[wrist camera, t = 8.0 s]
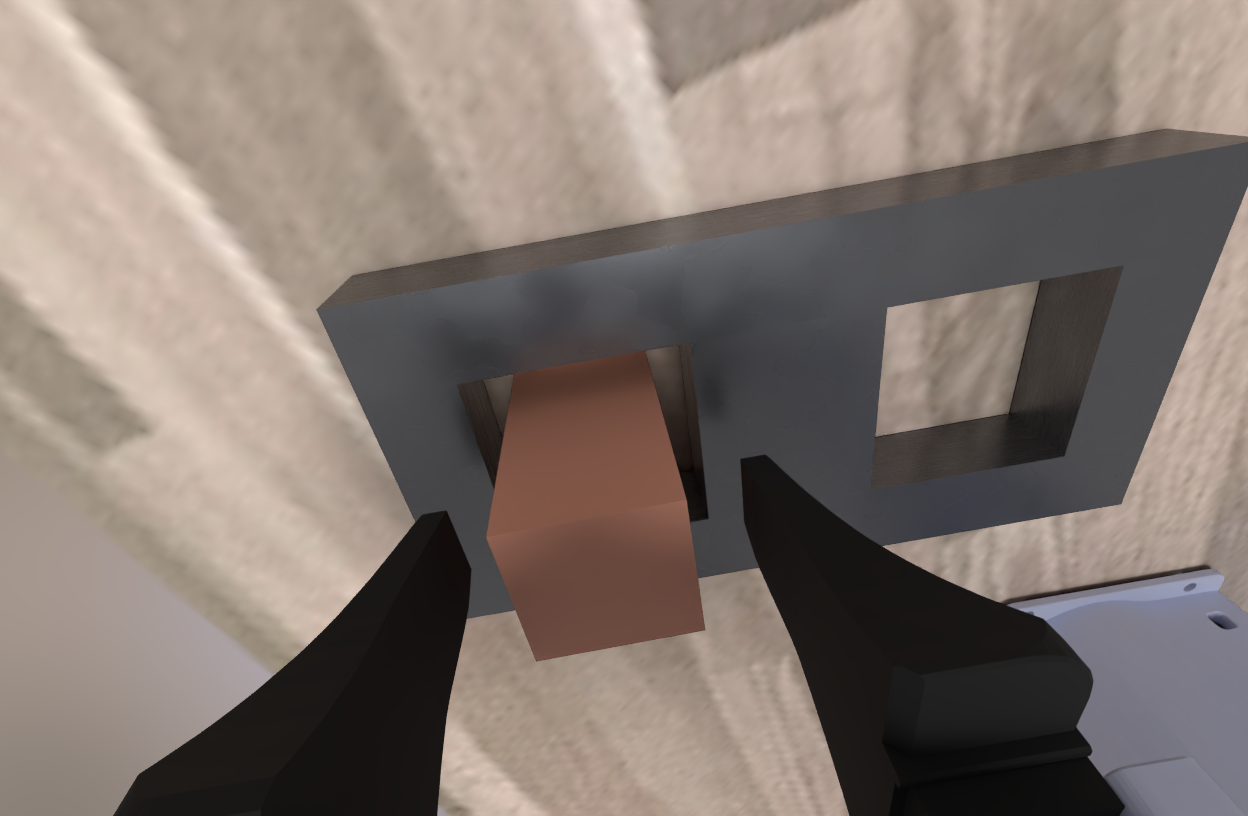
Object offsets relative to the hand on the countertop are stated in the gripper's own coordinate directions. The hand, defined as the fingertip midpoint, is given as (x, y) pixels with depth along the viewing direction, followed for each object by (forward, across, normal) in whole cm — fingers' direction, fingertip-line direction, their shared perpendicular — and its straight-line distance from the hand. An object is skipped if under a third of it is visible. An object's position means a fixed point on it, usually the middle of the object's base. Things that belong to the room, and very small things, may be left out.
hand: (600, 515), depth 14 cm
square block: (+5, 0, 0) cm, 5 cm away
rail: (+5, -6, 0) cm, 7 cm away
